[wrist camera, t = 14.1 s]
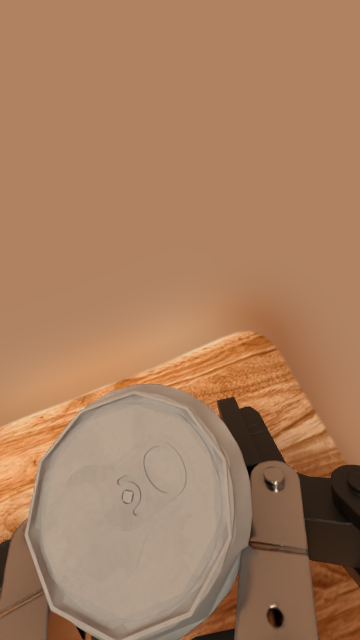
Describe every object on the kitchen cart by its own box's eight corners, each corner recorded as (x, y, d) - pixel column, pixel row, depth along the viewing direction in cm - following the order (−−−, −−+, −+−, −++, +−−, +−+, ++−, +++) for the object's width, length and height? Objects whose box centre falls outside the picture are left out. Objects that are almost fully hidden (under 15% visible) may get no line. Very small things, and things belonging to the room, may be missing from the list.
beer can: (129, 467, 16) (-29, 466, 6) (194, 414, 17) (159, 332, 7) (178, 553, 14) (70, 787, 4) (249, 488, 15) (319, 534, 5)
